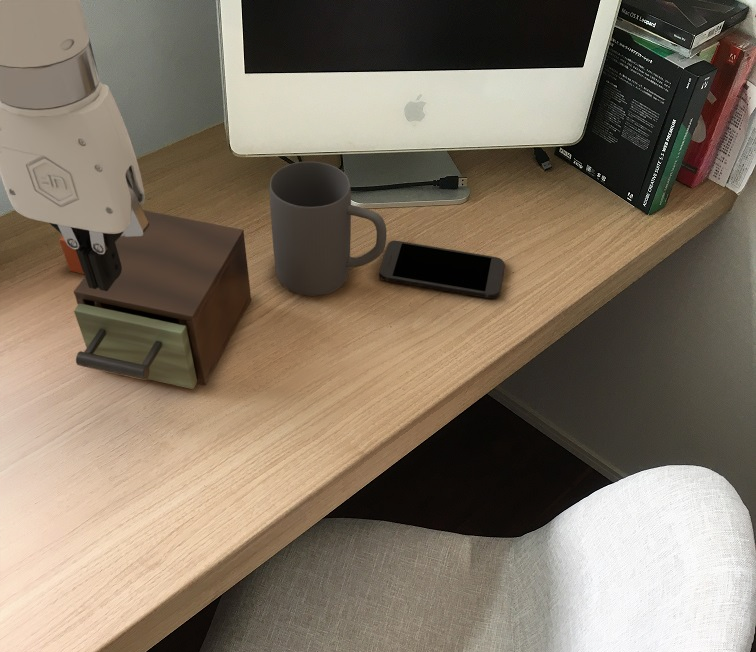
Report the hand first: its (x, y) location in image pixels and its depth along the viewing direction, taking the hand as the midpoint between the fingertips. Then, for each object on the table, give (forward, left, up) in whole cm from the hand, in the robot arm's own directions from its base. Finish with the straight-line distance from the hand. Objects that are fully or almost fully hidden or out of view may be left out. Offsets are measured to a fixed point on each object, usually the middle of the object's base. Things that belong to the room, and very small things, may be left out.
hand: (105, 280), depth 71 cm
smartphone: (+27, +30, -15) cm, 43 cm away
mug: (+14, +25, -15) cm, 32 cm away
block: (-14, +19, -15) cm, 28 cm away
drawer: (0, +6, -14) cm, 15 cm away
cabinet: (0, +11, -15) cm, 19 cm away
